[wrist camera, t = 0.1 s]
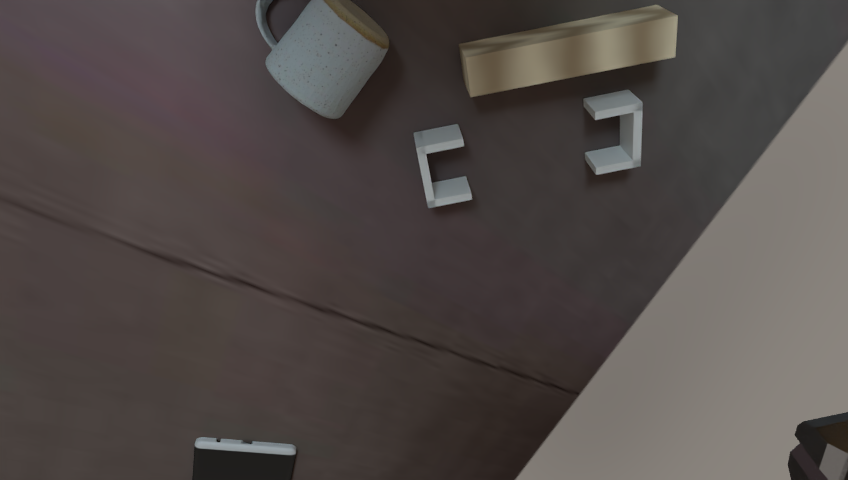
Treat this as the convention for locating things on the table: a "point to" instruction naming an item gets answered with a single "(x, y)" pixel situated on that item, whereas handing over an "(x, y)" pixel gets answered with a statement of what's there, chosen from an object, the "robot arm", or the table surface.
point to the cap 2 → (629, 131)
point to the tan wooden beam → (568, 50)
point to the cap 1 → (426, 144)
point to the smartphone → (242, 460)
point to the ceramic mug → (325, 54)
